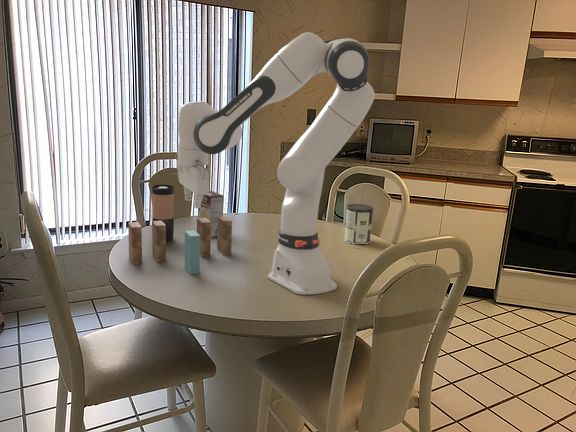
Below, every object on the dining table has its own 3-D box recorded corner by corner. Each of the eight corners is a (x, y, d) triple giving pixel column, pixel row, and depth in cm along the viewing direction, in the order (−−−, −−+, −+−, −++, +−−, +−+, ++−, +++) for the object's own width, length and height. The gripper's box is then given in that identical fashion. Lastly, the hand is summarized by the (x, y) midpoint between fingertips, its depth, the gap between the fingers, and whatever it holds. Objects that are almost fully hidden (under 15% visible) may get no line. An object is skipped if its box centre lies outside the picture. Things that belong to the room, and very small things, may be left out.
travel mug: (173, 236, 181) (173, 184, 176) (174, 242, 174) (174, 188, 169) (152, 236, 179) (152, 184, 174) (152, 242, 172) (151, 188, 167)
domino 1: (161, 255, 160) (161, 220, 157) (165, 260, 155) (165, 225, 152) (152, 255, 158) (152, 221, 156) (156, 261, 153) (156, 225, 150)
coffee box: (197, 231, 189) (197, 191, 185) (211, 229, 193) (211, 190, 189) (209, 237, 182) (209, 196, 178) (223, 235, 186) (224, 195, 182)
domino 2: (194, 266, 151) (194, 230, 148) (199, 273, 146) (200, 235, 143) (184, 267, 150) (184, 231, 147) (190, 274, 144) (190, 236, 142)
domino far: (138, 257, 156) (137, 221, 153) (142, 263, 151) (141, 226, 148) (129, 258, 155) (128, 222, 152) (132, 264, 150) (131, 227, 147)
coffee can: (356, 236, 196) (359, 202, 193) (375, 243, 188) (379, 208, 185) (338, 239, 190) (341, 205, 187) (356, 246, 182) (360, 210, 179)
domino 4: (225, 248, 170) (226, 216, 167) (231, 254, 165) (232, 220, 162) (217, 249, 169) (217, 216, 166) (222, 254, 164) (223, 221, 161)
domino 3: (204, 250, 167) (205, 217, 164) (210, 256, 161) (210, 222, 159) (196, 251, 165) (196, 218, 162) (201, 257, 160) (202, 222, 157)
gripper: (215, 163, 132) (213, 211, 135) (194, 153, 149) (193, 196, 153) (192, 163, 129) (192, 212, 132) (174, 153, 147) (173, 197, 150)
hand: (192, 204), depth 143 cm, fingers open, 8 cm apart
